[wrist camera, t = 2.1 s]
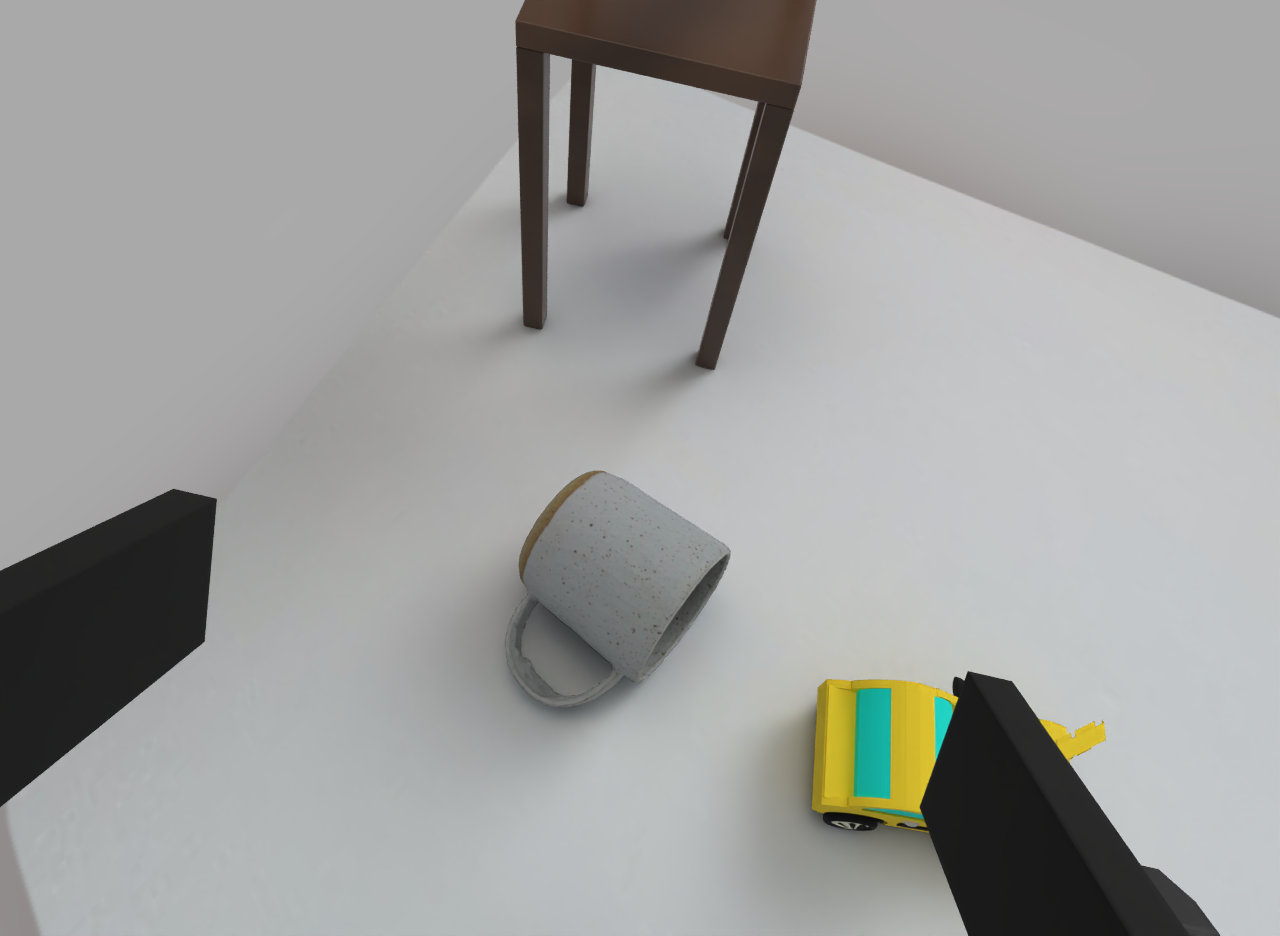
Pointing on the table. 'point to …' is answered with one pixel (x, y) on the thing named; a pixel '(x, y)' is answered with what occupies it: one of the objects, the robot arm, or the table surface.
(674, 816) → the table surface
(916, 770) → the toy car
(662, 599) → the ceramic mug
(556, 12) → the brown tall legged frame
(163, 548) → the robot arm
